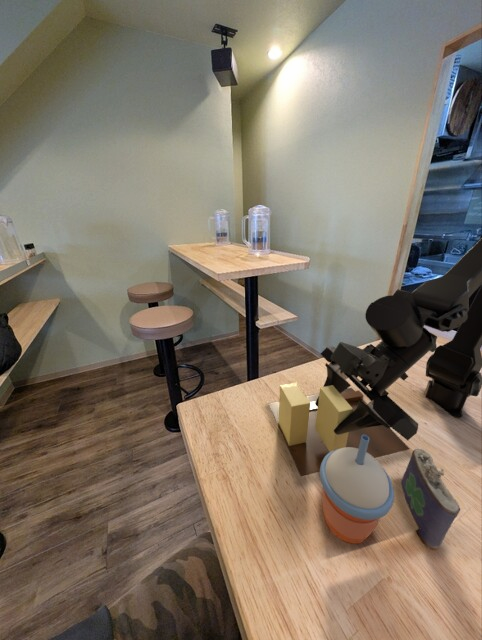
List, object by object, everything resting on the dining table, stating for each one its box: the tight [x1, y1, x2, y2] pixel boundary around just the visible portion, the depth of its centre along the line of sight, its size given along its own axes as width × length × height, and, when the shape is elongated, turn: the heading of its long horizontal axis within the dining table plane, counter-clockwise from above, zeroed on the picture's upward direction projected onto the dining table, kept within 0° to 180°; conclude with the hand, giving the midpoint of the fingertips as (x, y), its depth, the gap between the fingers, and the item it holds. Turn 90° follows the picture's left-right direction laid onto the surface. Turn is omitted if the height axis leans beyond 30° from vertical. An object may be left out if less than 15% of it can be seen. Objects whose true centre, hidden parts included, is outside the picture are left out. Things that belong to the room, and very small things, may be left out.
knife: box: [310, 390, 365, 411], centre depth 58 cm, size 15×2×1 cm, turn 102°
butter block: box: [278, 382, 310, 446], centre depth 49 cm, size 4×6×10 cm, turn 12°
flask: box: [400, 448, 461, 550], centre depth 36 cm, size 9×3×11 cm, turn 172°
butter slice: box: [315, 385, 353, 452], centre depth 44 cm, size 2×6×10 cm, turn 13°
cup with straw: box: [319, 435, 395, 544], centre depth 34 cm, size 9×9×18 cm
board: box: [268, 387, 410, 477], centre depth 53 cm, size 22×18×2 cm
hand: (325, 418), depth 44 cm, fingers closed on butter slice, 6 cm apart
